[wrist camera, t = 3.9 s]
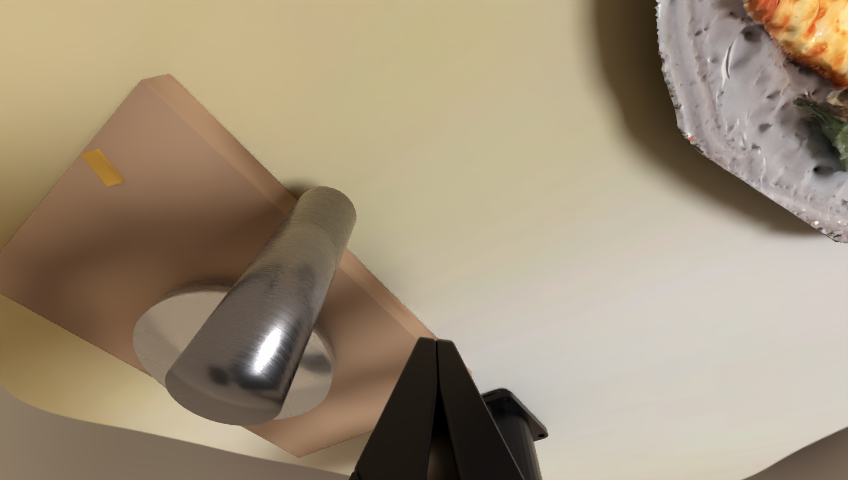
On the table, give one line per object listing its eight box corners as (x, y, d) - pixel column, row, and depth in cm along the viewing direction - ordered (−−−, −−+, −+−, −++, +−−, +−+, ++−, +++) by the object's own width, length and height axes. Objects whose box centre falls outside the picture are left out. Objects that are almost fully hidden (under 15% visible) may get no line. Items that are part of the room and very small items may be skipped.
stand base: (470, 371, 22) (473, 395, 21) (305, 438, 28) (297, 460, 26) (169, 73, 13) (137, 80, 12) (8, 262, 18) (-28, 283, 17)
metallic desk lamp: (296, 418, 23) (237, 587, 16) (135, 361, 20) (-19, 537, 13) (443, 251, 15) (448, 445, 8) (211, 117, 12) (-78, 243, 5)
